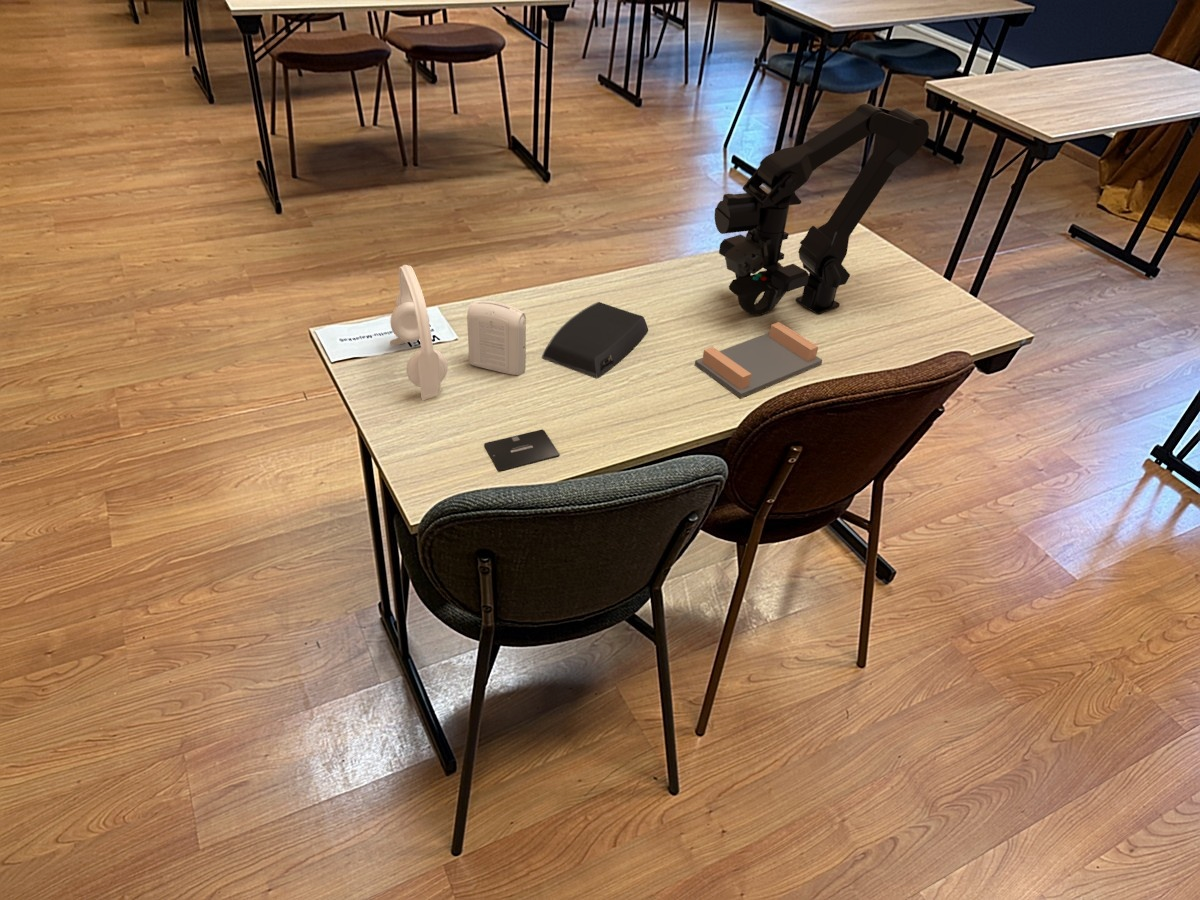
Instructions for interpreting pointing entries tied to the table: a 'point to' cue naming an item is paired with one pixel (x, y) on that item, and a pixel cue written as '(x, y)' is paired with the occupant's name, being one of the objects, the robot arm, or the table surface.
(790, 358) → the dock
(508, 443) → the solid state drive
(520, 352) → the photo printer
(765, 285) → the controller
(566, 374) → the table surface
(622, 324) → the external hard drive
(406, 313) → the headset
